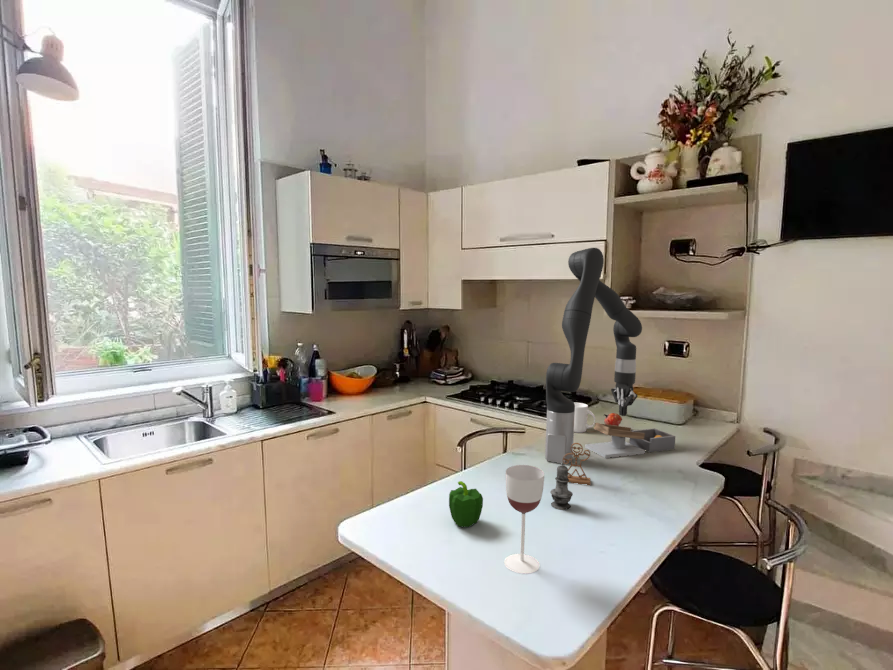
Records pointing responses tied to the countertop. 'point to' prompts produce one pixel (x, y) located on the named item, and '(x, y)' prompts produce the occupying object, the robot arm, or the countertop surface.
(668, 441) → the grey open box
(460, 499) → the bell pepper
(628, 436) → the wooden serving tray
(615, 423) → the pomegranate
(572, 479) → the gingerbread man figurine
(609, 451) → the base
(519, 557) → the wineglass
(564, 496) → the salt shaker
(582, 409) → the mug
